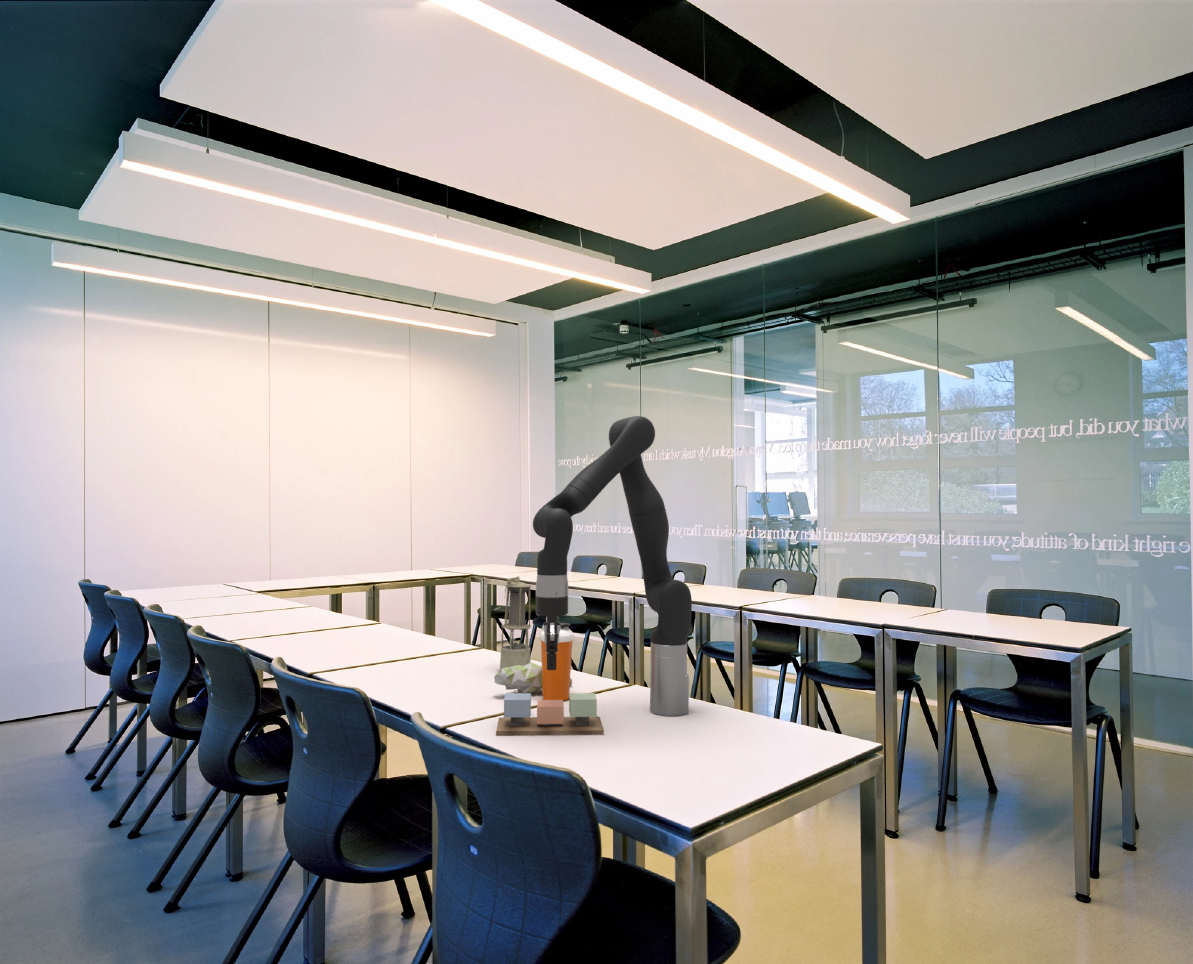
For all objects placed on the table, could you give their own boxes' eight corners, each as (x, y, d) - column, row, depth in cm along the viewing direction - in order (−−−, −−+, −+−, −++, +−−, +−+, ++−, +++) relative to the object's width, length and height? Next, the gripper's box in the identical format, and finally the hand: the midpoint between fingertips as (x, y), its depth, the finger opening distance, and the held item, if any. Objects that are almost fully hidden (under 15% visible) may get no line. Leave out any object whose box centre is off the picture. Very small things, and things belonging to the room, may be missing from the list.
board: (599, 721, 175) (599, 708, 175) (603, 734, 164) (604, 721, 164) (498, 721, 173) (499, 708, 173) (496, 735, 162) (496, 721, 162)
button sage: (594, 709, 172) (594, 693, 172) (596, 716, 166) (596, 699, 166) (569, 710, 172) (569, 693, 172) (570, 716, 166) (570, 699, 166)
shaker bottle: (567, 703, 191) (569, 626, 192) (535, 701, 192) (536, 624, 193) (575, 695, 199) (576, 621, 200) (544, 693, 201) (545, 620, 202)
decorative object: (556, 680, 214) (483, 673, 200) (574, 660, 211) (501, 650, 196) (565, 706, 208) (491, 700, 193) (584, 685, 204) (509, 677, 190)
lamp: (538, 673, 226) (540, 576, 228) (504, 679, 217) (506, 578, 219) (517, 668, 234) (519, 574, 235) (484, 674, 225) (486, 576, 226)
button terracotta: (562, 716, 172) (562, 699, 172) (563, 723, 166) (563, 706, 166) (537, 716, 171) (537, 700, 171) (536, 724, 165) (537, 706, 165)
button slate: (530, 710, 171) (531, 693, 171) (530, 717, 165) (530, 699, 165) (504, 710, 171) (505, 693, 171) (503, 717, 165) (504, 699, 165)
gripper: (569, 597, 163) (569, 675, 163) (567, 591, 177) (566, 663, 176) (535, 597, 163) (535, 676, 162) (535, 591, 176) (535, 663, 175)
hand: (551, 669), depth 169 cm, fingers closed
